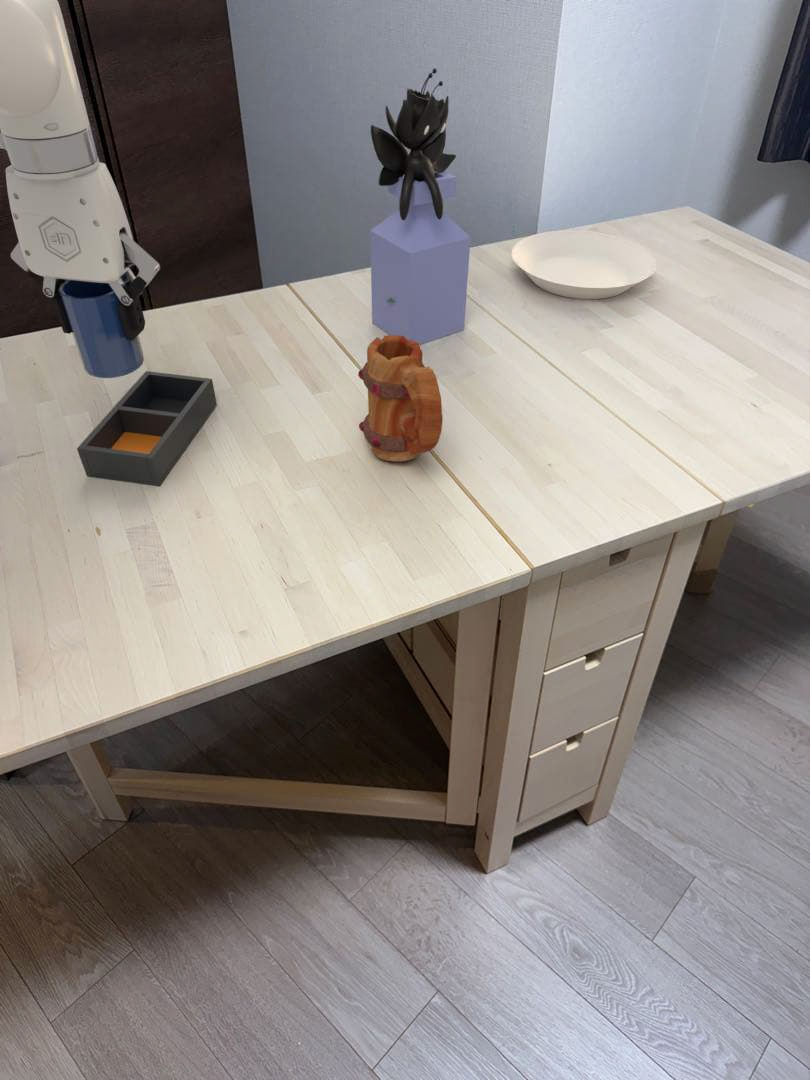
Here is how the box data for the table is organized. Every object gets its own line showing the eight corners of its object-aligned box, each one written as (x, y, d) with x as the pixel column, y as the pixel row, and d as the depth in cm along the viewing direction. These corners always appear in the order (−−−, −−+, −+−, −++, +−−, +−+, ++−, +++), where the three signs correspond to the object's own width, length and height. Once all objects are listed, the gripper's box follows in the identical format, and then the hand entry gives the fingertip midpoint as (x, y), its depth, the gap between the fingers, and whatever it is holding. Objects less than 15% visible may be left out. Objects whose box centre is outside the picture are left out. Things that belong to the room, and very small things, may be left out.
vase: (397, 357, 111) (399, 89, 87) (356, 327, 118) (347, 70, 94) (472, 332, 117) (492, 74, 93) (429, 304, 124) (437, 58, 100)
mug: (351, 437, 96) (346, 329, 85) (408, 422, 98) (410, 316, 88) (398, 504, 86) (399, 392, 76) (460, 486, 89) (469, 375, 78)
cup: (73, 374, 81) (46, 295, 75) (101, 346, 86) (79, 269, 79) (127, 381, 80) (105, 302, 74) (153, 352, 85) (134, 275, 78)
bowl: (501, 299, 126) (503, 279, 123) (517, 243, 143) (520, 224, 141) (652, 316, 122) (658, 295, 119) (650, 256, 140) (655, 237, 137)
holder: (86, 476, 89) (76, 448, 86) (152, 397, 102) (145, 370, 99) (159, 486, 88) (152, 458, 85) (217, 405, 101) (212, 378, 98)
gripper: (-59, 156, 66) (12, 339, 79) (121, 170, 64) (165, 357, 76) (-9, 132, 72) (50, 307, 84) (159, 145, 69) (194, 323, 82)
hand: (104, 329), depth 80 cm, fingers closed on cup, 6 cm apart
